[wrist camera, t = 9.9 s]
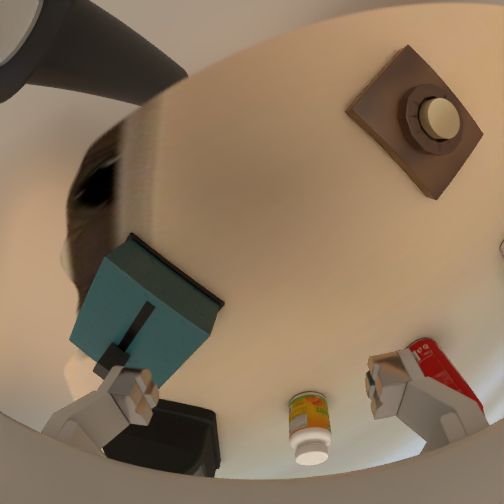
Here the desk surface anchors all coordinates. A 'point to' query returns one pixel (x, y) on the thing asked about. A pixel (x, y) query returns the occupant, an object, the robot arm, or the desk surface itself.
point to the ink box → (502, 248)
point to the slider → (110, 360)
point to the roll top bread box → (171, 441)
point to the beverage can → (440, 367)
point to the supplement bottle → (309, 428)
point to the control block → (414, 122)
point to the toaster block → (145, 311)
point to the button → (439, 118)
